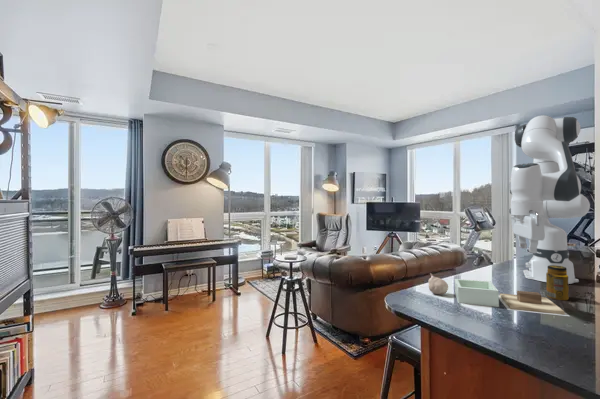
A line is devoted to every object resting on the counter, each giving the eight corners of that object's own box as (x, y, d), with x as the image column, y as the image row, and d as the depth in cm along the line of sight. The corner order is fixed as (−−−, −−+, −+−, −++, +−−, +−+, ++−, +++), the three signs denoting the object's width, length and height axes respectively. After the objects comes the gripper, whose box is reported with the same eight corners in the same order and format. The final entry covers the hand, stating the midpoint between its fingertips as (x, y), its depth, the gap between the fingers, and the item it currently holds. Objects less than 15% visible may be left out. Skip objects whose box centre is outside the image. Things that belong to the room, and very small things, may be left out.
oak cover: (499, 296, 108) (499, 285, 108) (546, 300, 103) (546, 289, 103) (510, 308, 95) (510, 296, 95) (564, 314, 90) (564, 301, 90)
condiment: (573, 300, 104) (572, 266, 104) (565, 305, 100) (564, 270, 100) (547, 294, 110) (546, 263, 111) (539, 299, 106) (538, 266, 106)
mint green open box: (455, 294, 113) (454, 278, 113) (491, 297, 108) (490, 281, 108) (458, 304, 102) (458, 287, 102) (499, 308, 97) (498, 290, 97)
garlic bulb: (438, 290, 118) (438, 271, 118) (451, 295, 112) (451, 274, 112) (425, 292, 116) (425, 272, 116) (437, 297, 109) (437, 276, 110)
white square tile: (496, 296, 109) (496, 294, 109) (548, 301, 103) (548, 299, 103) (507, 311, 95) (507, 309, 95) (570, 318, 89) (570, 316, 89)
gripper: (550, 211, 89) (551, 256, 88) (527, 209, 107) (528, 246, 107) (525, 211, 91) (526, 255, 91) (507, 209, 110) (508, 245, 110)
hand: (527, 250), depth 99 cm, fingers open, 8 cm apart
